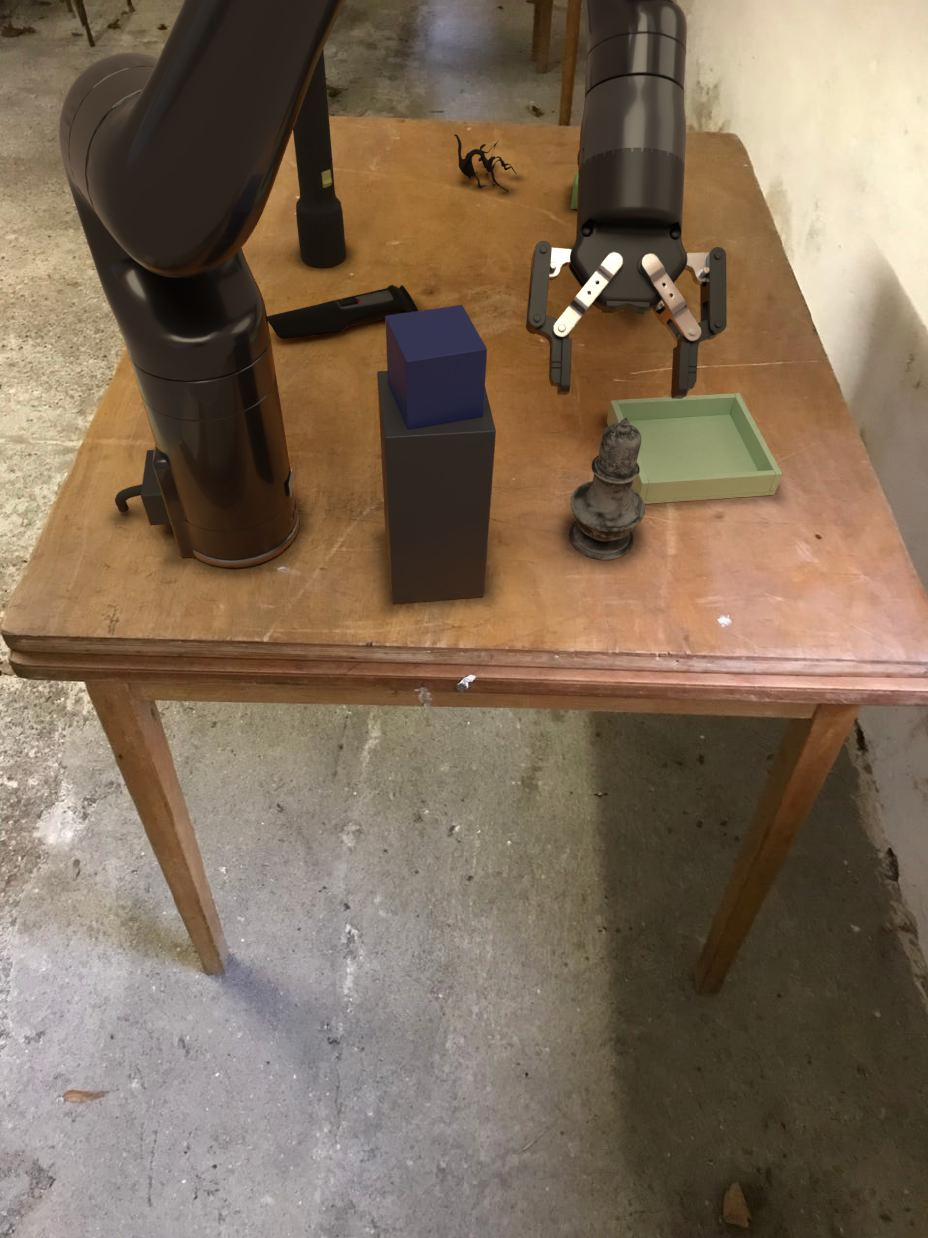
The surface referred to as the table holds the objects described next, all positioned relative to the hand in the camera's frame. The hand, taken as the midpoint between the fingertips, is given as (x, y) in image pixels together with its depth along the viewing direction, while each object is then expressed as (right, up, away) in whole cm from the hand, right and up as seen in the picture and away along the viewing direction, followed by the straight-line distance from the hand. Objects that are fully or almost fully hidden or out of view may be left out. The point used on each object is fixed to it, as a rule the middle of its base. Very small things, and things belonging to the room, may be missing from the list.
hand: (621, 395), depth 66 cm
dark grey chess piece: (0, -10, +8) cm, 12 cm away
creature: (-9, +39, +47) cm, 61 cm away
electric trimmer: (-23, +13, +26) cm, 37 cm away
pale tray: (+8, -2, +14) cm, 17 cm away
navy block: (-13, -2, -8) cm, 16 cm away
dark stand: (-14, -12, +5) cm, 19 cm away
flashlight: (-27, +24, +34) cm, 50 cm away
